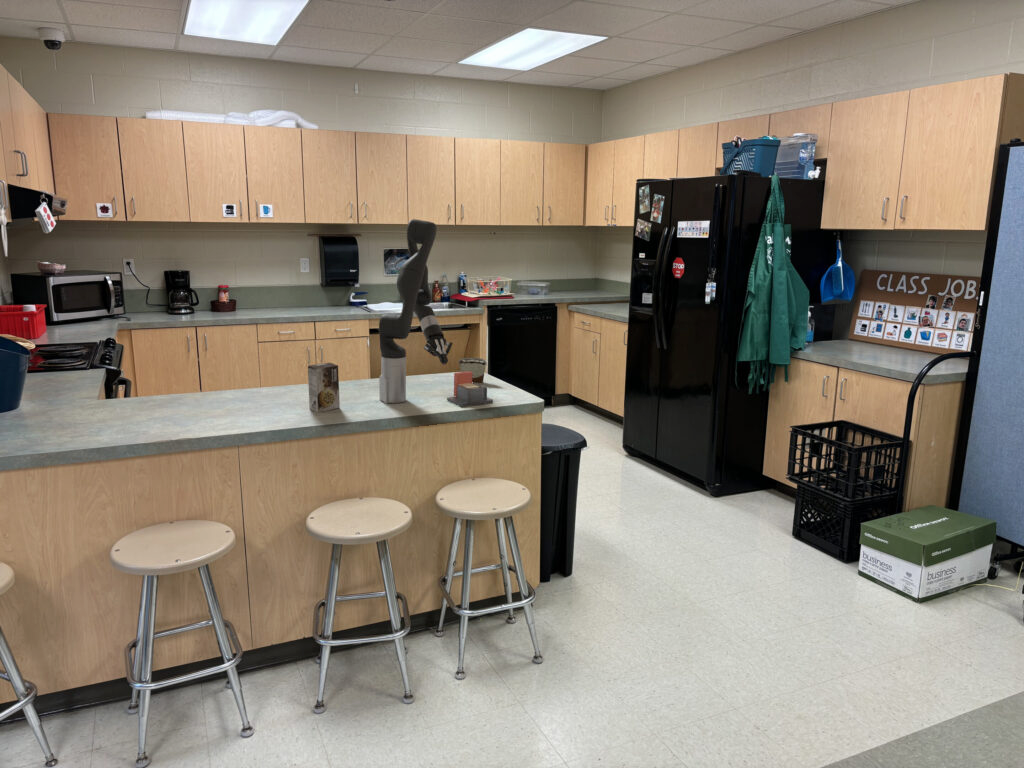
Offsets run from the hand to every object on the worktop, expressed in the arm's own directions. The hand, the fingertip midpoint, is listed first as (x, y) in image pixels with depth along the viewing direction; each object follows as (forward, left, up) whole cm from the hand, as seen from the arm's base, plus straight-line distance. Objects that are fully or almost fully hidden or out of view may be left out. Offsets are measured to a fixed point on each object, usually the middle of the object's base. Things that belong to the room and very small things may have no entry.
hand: (445, 363), depth 286 cm
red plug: (0, -18, -10) cm, 20 cm away
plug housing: (0, -19, -12) cm, 23 cm away
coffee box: (-52, -3, -12) cm, 53 cm away
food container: (+19, +10, -12) cm, 24 cm away
